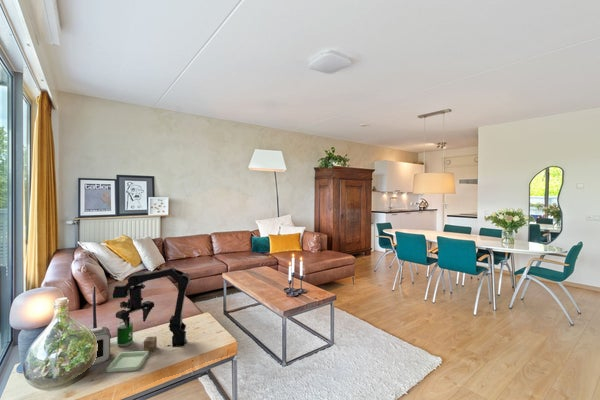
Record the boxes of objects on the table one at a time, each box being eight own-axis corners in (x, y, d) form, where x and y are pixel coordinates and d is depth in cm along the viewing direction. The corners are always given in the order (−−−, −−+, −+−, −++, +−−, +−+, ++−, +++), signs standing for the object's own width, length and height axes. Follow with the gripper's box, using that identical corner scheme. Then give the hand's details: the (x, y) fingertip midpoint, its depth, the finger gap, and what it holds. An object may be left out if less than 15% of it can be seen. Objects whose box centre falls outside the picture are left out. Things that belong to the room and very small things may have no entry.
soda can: (125, 348, 156) (125, 326, 155) (113, 346, 157) (114, 324, 157) (135, 341, 163) (136, 320, 163) (124, 339, 164) (124, 319, 164)
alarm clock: (68, 371, 134) (68, 339, 134) (70, 360, 143) (70, 329, 143) (110, 360, 144) (110, 330, 144) (109, 350, 153) (109, 321, 153)
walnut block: (156, 347, 157) (156, 336, 157) (153, 352, 153) (153, 341, 152) (146, 347, 157) (147, 336, 157) (143, 352, 152) (143, 341, 152)
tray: (148, 354, 150) (148, 350, 150) (138, 370, 136) (138, 366, 136) (120, 355, 148) (120, 352, 148) (106, 372, 134) (106, 368, 134)
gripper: (142, 289, 168) (143, 315, 168) (109, 299, 151) (109, 328, 152) (154, 292, 163) (155, 319, 163) (121, 303, 146) (122, 333, 147)
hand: (136, 324), depth 156 cm, fingers open, 9 cm apart
